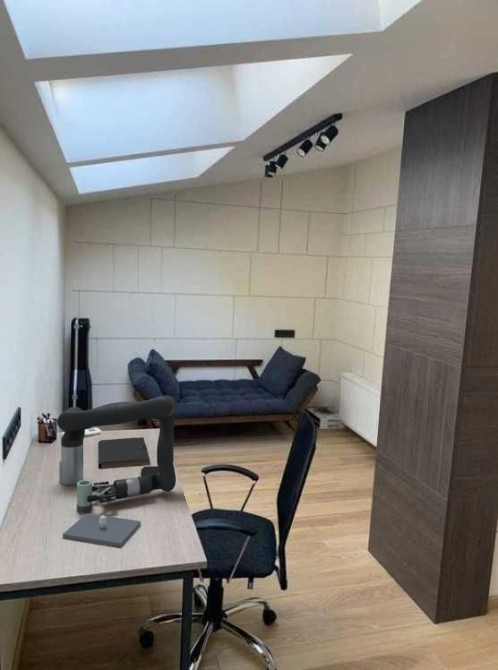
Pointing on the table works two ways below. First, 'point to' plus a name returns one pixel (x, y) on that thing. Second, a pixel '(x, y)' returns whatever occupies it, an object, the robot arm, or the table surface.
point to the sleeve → (84, 496)
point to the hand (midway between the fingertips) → (85, 494)
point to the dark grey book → (122, 453)
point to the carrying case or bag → (149, 470)
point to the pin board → (102, 529)
